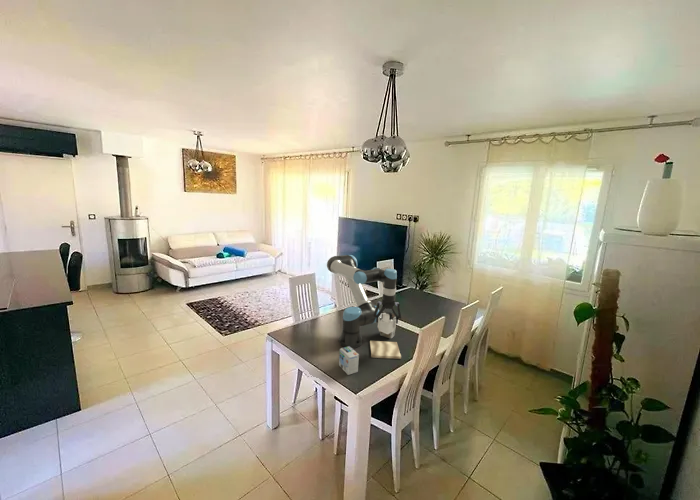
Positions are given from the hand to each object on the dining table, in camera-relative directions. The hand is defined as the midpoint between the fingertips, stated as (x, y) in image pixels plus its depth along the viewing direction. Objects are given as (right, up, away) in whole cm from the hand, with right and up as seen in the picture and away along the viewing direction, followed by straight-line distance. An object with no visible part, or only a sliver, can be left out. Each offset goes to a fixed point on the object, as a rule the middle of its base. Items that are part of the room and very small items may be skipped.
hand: (386, 327), depth 187 cm
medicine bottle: (0, -2, 0) cm, 2 cm away
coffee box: (+3, -12, +24) cm, 27 cm away
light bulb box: (-24, -19, -19) cm, 36 cm away
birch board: (-1, -15, +3) cm, 16 cm away
